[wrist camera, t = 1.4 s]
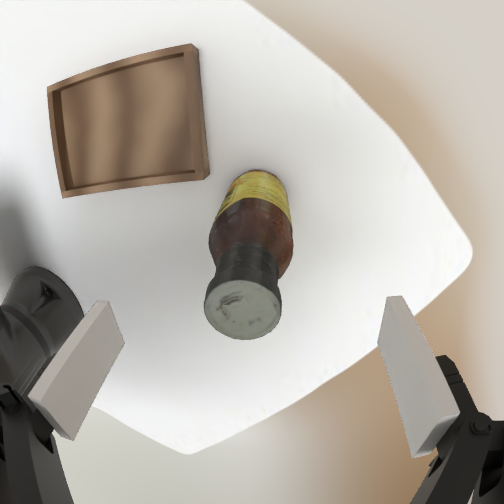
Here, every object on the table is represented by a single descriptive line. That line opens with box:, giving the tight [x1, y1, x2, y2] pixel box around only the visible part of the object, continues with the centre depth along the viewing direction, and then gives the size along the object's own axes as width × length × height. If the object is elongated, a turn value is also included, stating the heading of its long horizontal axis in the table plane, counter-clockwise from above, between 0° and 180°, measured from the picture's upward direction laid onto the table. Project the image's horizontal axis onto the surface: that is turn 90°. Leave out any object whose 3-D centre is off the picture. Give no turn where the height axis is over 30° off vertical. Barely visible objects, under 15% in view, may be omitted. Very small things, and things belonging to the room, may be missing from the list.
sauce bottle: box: [204, 170, 293, 340], centre depth 24 cm, size 7×6×20 cm
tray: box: [47, 44, 210, 198], centre depth 29 cm, size 18×14×3 cm
